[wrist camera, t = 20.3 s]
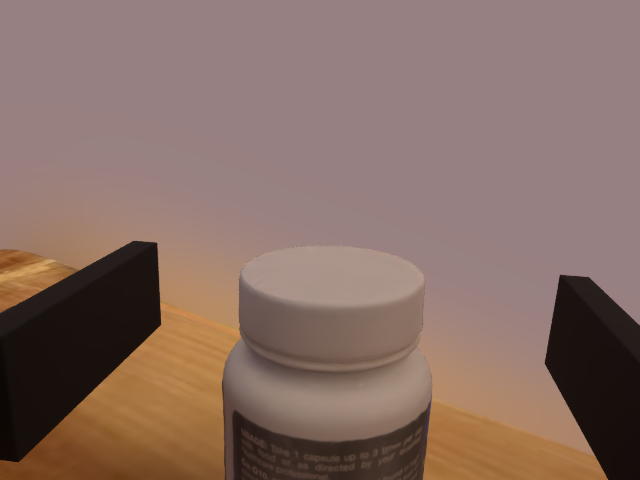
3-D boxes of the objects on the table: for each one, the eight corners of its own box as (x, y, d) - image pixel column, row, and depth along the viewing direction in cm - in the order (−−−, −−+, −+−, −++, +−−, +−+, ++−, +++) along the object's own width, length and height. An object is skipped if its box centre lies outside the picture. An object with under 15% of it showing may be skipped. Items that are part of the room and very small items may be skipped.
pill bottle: (450, 612, 13) (496, 288, 10) (274, 719, 10) (283, 333, 8) (345, 486, 17) (361, 231, 14) (200, 543, 14) (192, 250, 12)
